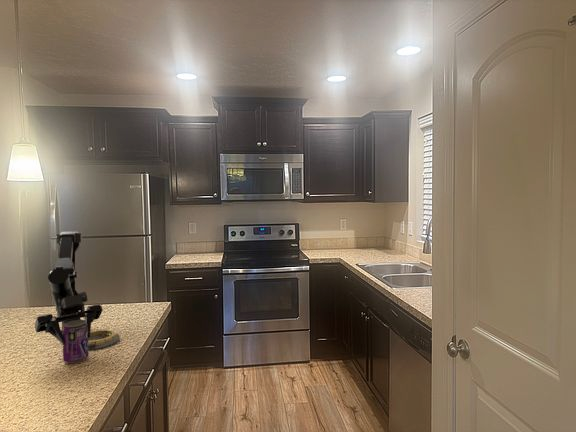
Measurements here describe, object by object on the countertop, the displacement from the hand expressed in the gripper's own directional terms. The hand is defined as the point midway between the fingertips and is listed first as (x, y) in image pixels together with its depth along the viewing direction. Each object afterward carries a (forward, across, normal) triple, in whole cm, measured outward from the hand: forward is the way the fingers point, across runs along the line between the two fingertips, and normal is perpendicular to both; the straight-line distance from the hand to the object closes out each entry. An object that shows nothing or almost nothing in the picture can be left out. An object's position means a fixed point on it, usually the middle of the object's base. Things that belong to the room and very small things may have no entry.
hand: (76, 340), depth 122 cm
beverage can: (+4, 0, +6) cm, 7 cm away
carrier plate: (-4, +10, +14) cm, 18 cm away
